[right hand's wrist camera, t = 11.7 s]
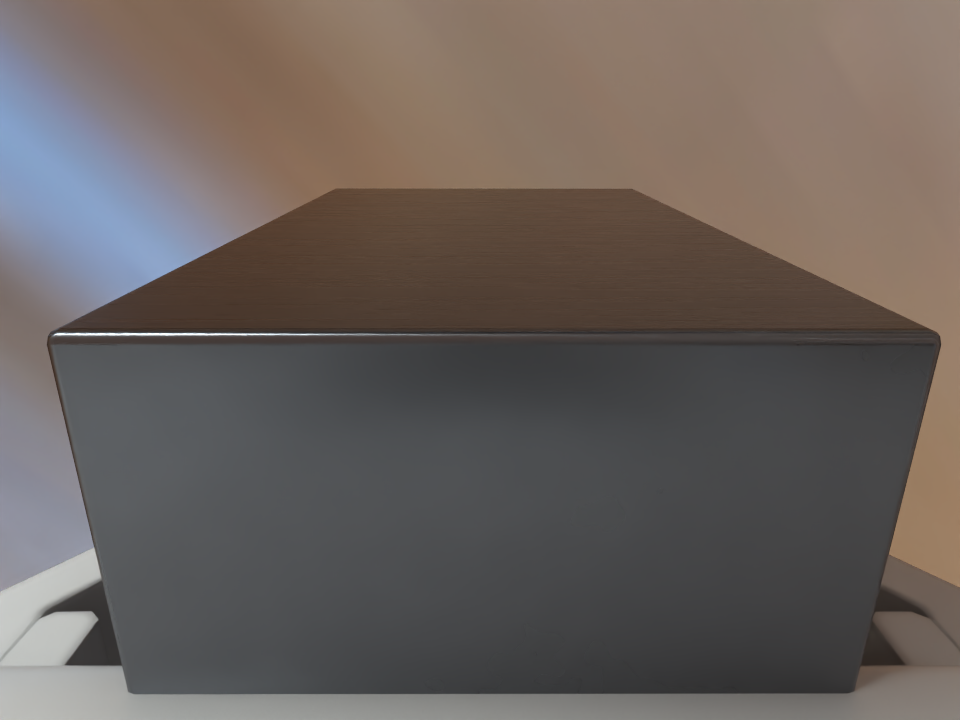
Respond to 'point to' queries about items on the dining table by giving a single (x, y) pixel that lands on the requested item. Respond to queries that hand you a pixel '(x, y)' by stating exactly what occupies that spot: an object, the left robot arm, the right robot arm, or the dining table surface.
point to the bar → (491, 454)
